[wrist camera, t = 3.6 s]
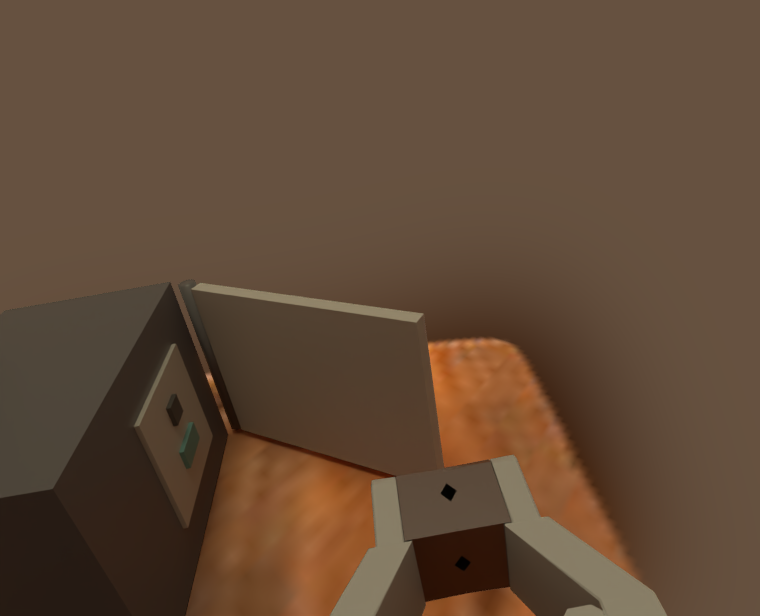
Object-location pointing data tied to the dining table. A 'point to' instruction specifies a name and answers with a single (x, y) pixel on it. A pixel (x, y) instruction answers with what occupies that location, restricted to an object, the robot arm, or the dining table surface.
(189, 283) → the side door
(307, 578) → the dining table surface
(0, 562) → the box
